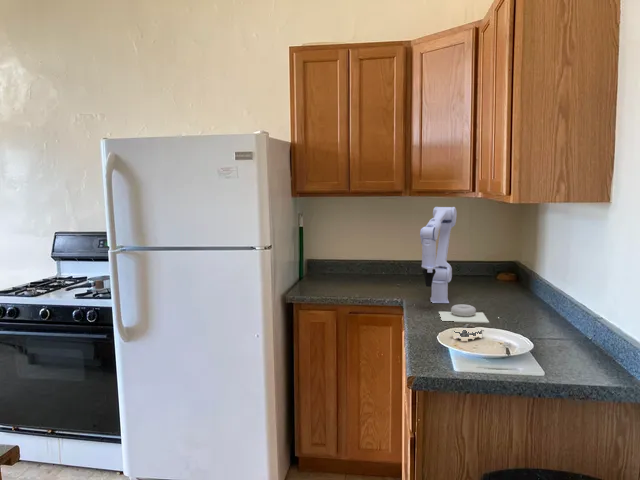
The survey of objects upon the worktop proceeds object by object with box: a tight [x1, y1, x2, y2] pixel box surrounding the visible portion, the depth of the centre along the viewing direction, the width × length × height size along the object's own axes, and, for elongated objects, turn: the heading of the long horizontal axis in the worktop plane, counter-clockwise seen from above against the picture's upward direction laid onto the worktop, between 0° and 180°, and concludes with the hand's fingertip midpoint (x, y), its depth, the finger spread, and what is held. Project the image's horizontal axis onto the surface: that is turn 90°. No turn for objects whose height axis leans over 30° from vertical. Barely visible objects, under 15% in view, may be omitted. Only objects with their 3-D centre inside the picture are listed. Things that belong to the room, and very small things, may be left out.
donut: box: [450, 303, 477, 317], centre depth 201 cm, size 10×3×10 cm
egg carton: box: [453, 322, 485, 337], centre depth 173 cm, size 11×8×4 cm
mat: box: [438, 311, 490, 324], centre depth 198 cm, size 14×18×1 cm
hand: (428, 286), depth 209 cm, fingers closed
